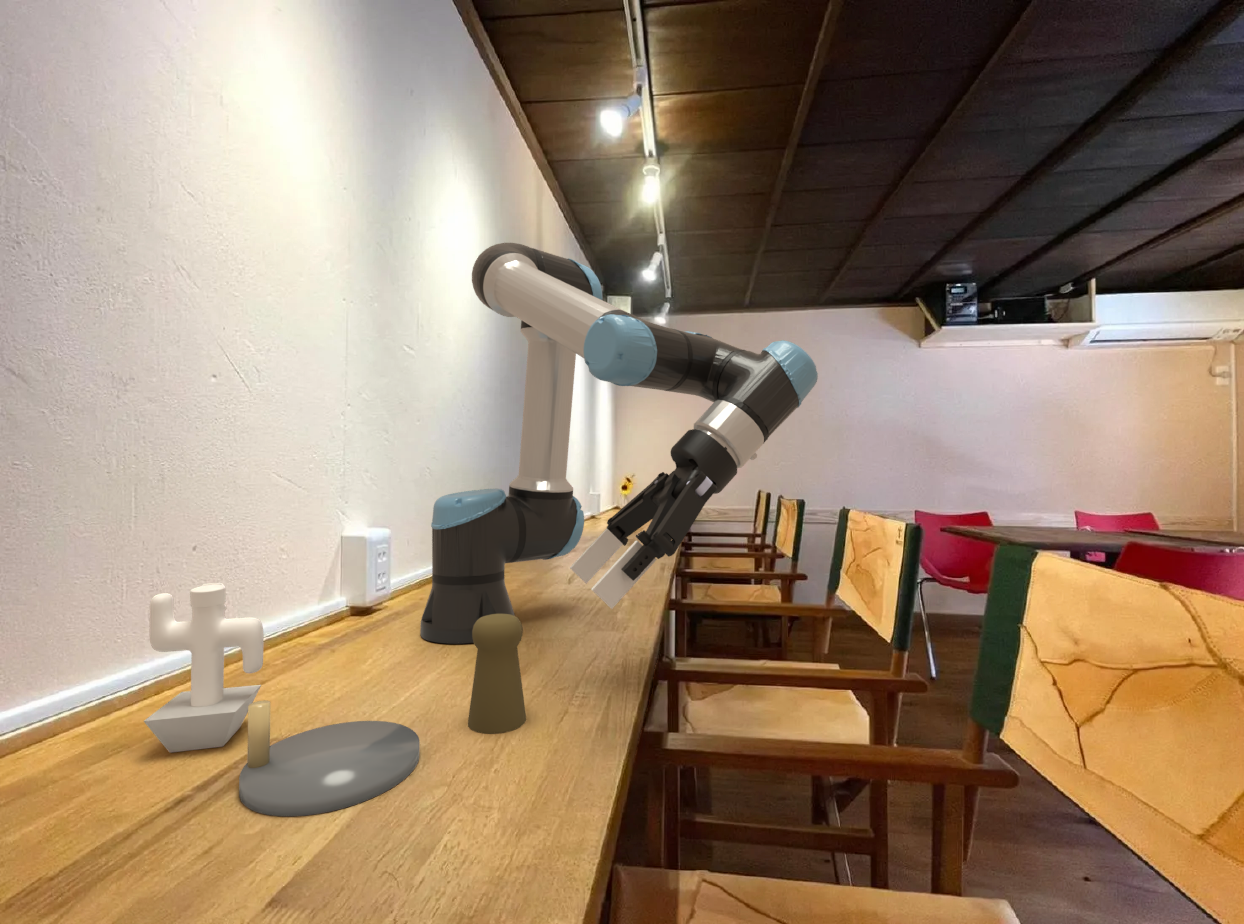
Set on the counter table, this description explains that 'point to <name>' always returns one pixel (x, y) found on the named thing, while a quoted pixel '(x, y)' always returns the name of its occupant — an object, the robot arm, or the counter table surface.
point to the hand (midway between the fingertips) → (587, 586)
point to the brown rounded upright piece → (497, 676)
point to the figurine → (204, 669)
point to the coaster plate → (323, 765)
